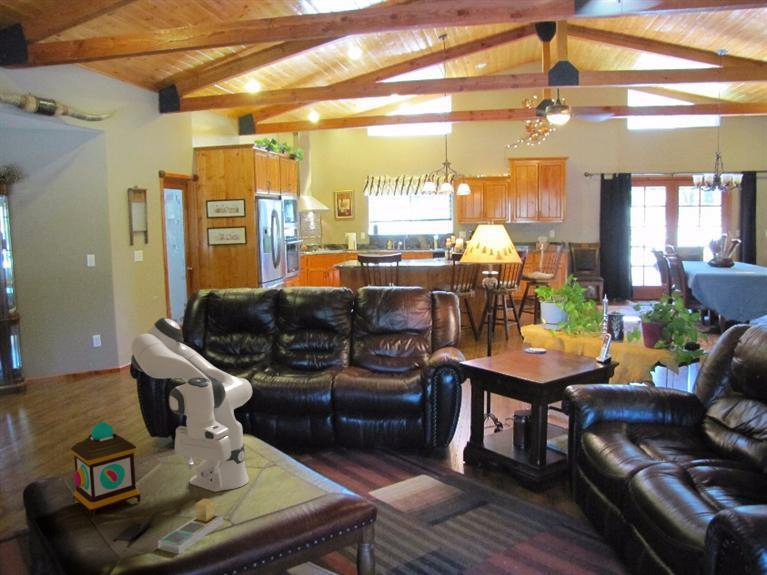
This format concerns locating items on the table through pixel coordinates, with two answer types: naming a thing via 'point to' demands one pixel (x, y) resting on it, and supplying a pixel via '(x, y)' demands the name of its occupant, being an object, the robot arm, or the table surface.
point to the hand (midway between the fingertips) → (203, 470)
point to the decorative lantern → (104, 469)
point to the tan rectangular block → (205, 511)
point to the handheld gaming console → (134, 530)
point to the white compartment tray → (188, 534)
